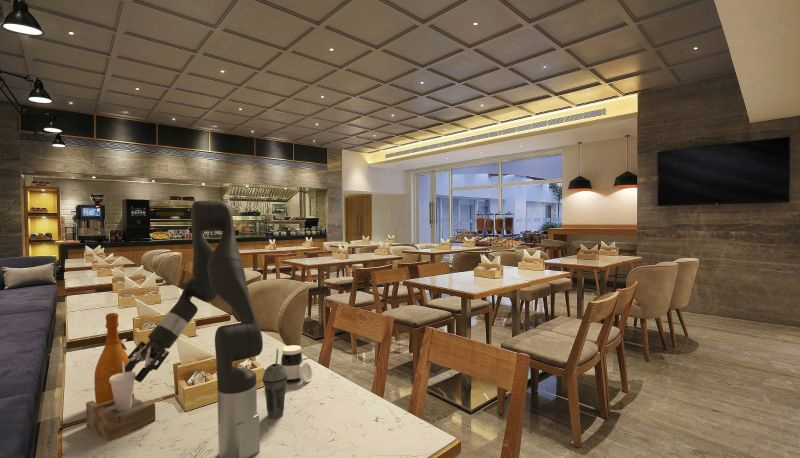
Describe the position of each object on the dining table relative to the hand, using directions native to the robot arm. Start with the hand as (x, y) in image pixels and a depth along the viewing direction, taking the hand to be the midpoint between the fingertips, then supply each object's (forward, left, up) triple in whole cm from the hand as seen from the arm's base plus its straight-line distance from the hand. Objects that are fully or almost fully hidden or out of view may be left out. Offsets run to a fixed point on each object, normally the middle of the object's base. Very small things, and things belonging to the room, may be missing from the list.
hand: (130, 377), depth 116 cm
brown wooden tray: (0, +3, -13) cm, 13 cm away
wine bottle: (+15, -2, -13) cm, 20 cm away
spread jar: (-21, -46, -13) cm, 53 cm away
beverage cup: (-35, -24, -13) cm, 45 cm away
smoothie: (0, +2, -9) cm, 9 cm away
